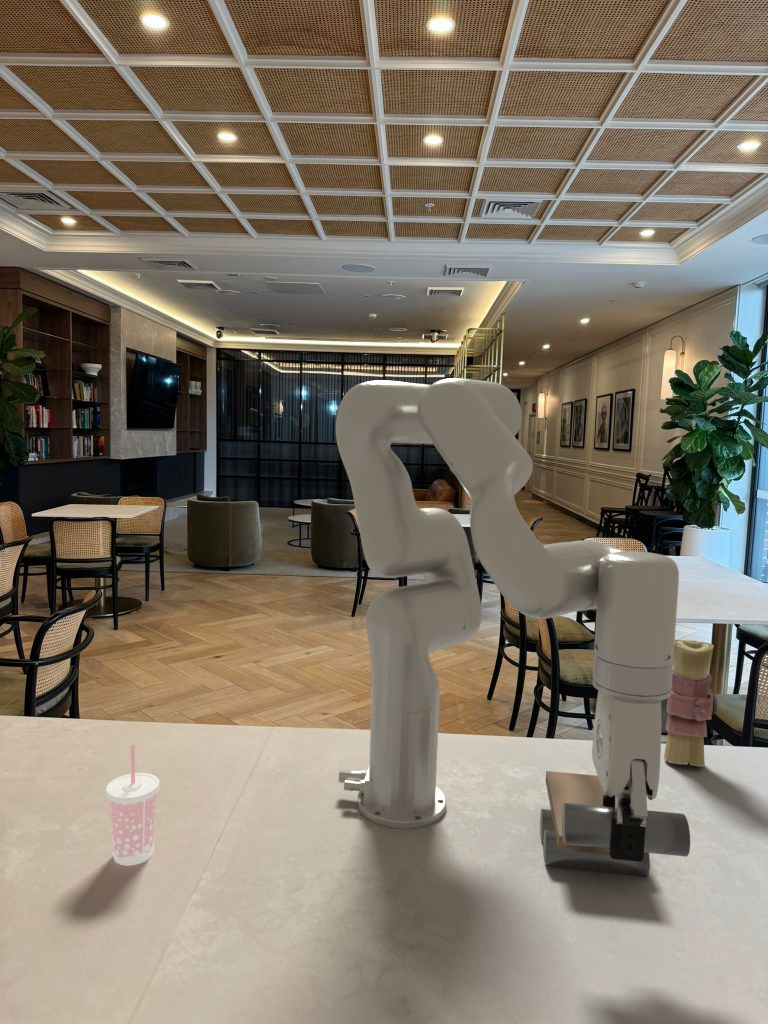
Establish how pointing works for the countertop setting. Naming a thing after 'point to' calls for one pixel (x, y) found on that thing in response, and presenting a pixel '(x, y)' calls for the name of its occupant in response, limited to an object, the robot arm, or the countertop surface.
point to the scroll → (689, 703)
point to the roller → (595, 829)
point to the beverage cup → (133, 815)
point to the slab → (573, 800)
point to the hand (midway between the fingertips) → (621, 843)
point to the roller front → (589, 859)
